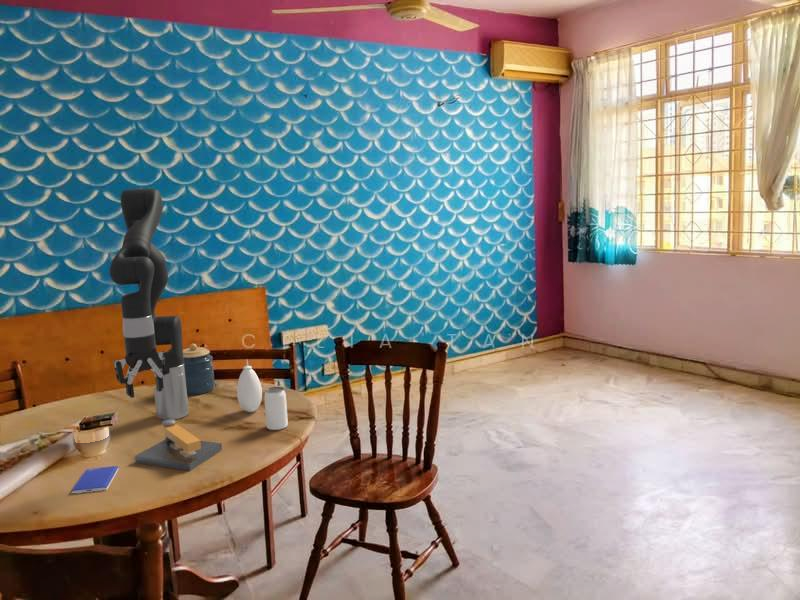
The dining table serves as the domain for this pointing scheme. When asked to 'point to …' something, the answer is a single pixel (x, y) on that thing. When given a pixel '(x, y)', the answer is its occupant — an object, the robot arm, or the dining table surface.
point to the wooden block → (180, 436)
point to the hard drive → (95, 479)
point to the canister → (198, 370)
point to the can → (276, 408)
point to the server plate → (177, 455)
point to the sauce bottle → (249, 389)
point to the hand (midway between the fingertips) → (145, 393)
